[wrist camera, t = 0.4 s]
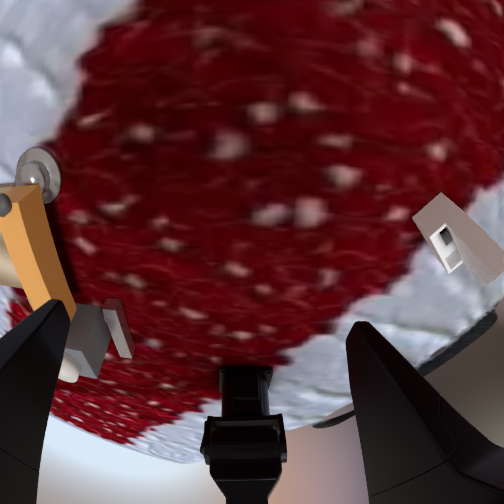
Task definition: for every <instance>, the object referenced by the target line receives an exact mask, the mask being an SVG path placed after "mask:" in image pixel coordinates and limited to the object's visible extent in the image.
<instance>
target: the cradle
mask: <svg viewBox="0 0 504 504" xmlns="http://www.w3.org/2000/svg"><path fill="white" fill-rule="evenodd" d="M38 184H40V189H41V194H42V198H43V203H44V204H47V203H49V202H51V201H52V200H53V199H55V198H56V197H57V195H58V194H59V192H60V189H61V186H62V173H61V169H60V166H59V163H58V162H57V160H56V158H55V157H54V156H53V155H52V153H50V152H49V151H48V150H46V149H44V148H41V147H34V148H31V149H29V150H27V151H26V152H24V153H23V154H22V156H21V157H20V159H19V161H18V164H17V171H16V176H15V185H16V186H24V185H38ZM27 299H28V297H27ZM28 301H29V299H28ZM29 303H30V301H29ZM30 305H31V303H30ZM31 307H32V305H31ZM32 309H33V307H32ZM33 311H34V309H33ZM102 311H103V313H104V316H105V319H106V322H107V324H108V327H109V330H110V332H111V335H112V338H113V340H114V343H115V345H116V348H117V350H118V352H119V355H120V357H126V358H132V357H133V353H134V350H135V346H134V343H133V340H132V337H131V334H130V331H129V327H128V324H127V321H126V318H125V314H124V311H123V307H122V304H121V300H120V299H115V298H106V301H105V303H104V305H103V308H102Z"/></svg>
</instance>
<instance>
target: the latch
mask: <svg viewBox="0 0 504 504" xmlns="http://www.w3.org/2000/svg"><path fill="white" fill-rule="evenodd" d="M0 230H1V233H2V236H3V239H4V242H5V244H6V247H7V250H8V253H9V255H10V258H11V260H12V263H13V265H14V268H15V270H16V273H17V275H18V277H19V280H20V282H21V284H22V286H23V289H24V291H25V293H26V295H27V297H28V299H29V301H30V303H31V305H32V307H33V309H34V311H35V310H36V309H38V308H39V307H40V306H42V305H43V304H44V303H46V302H47V301H48V300H50V299H58V300H62V301H63V303H64V305H65V307H66V310H67V312H68V315H69V317H70V322H71V320H72V318H73V316H74V314H75V312H76V310H77V307H76V305H75V302H74V300H73V297H72V295H71V292H70V289H69V287H68V284H67V281H66V278H65V276H64V273H63V270H62V267H61V264H60V261H59V258H58V255H57V251H56V248H55V245H54V241H53V238H52V234H51V231H50V227H49V223H48V220H47V216H46V211H45V207H44V203H43V198H42V194H41V189H40V184H38V185H24V186H14V187H13V188H11V189H10V190H9V191H8V192H6V193H0Z"/></svg>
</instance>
